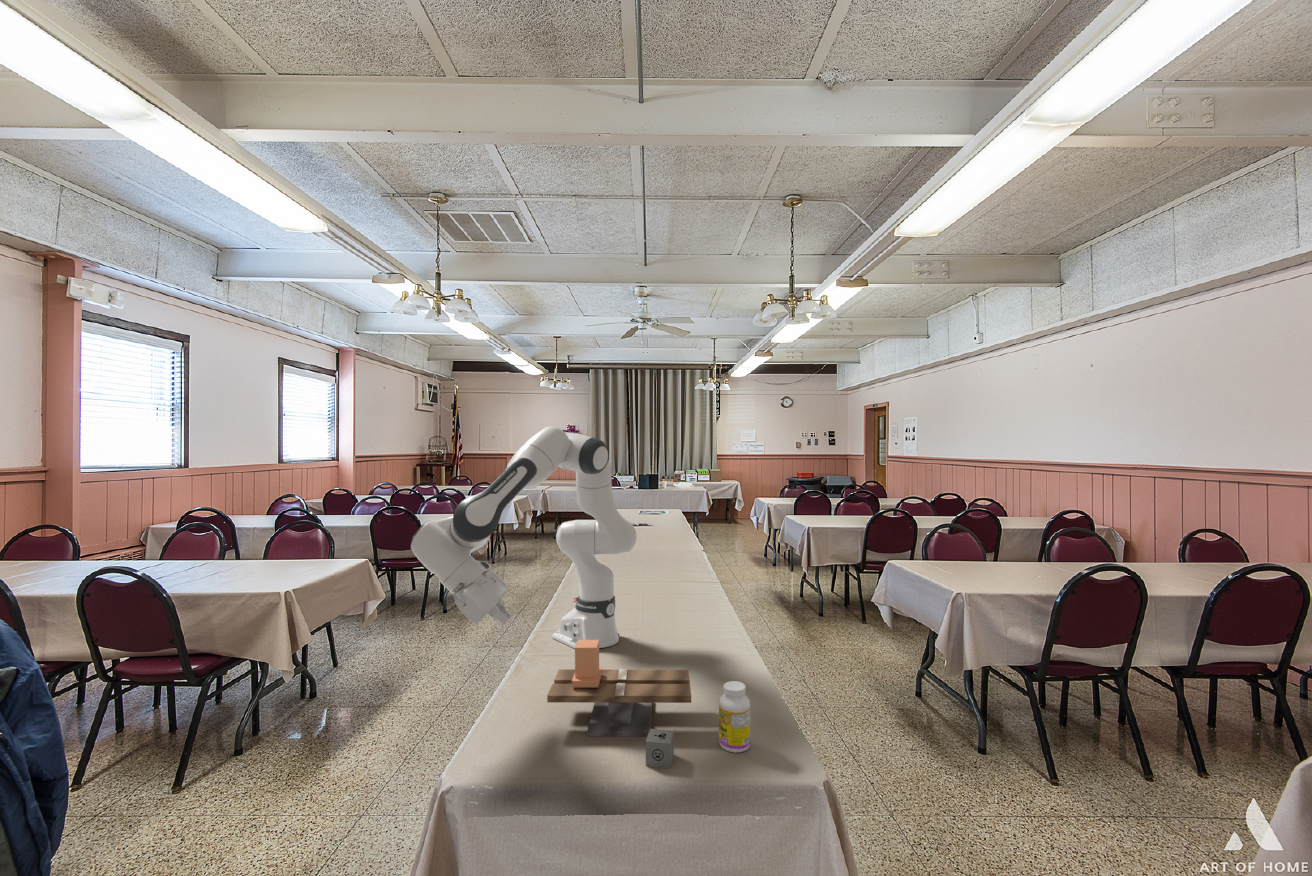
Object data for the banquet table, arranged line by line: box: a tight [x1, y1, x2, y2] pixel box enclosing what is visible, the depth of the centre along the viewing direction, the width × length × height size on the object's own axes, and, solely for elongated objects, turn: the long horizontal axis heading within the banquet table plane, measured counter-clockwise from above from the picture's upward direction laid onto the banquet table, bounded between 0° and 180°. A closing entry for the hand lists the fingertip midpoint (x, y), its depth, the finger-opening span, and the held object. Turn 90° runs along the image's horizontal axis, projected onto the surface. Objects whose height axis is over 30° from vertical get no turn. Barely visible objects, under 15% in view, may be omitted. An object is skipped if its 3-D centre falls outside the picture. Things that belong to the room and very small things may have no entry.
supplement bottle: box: [718, 680, 751, 754], centre depth 121 cm, size 7×7×13 cm
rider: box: [572, 640, 603, 687], centre depth 132 cm, size 6×8×10 cm
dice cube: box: [645, 728, 675, 769], centre depth 115 cm, size 5×5×5 cm
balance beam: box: [546, 668, 692, 738], centre depth 132 cm, size 32×16×9 cm, turn 89°
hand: (508, 620), depth 133 cm, fingers closed
